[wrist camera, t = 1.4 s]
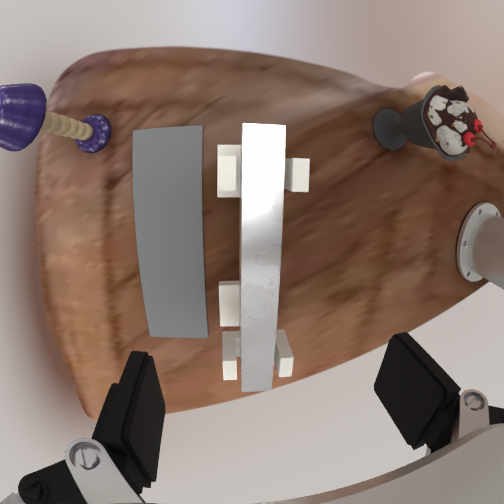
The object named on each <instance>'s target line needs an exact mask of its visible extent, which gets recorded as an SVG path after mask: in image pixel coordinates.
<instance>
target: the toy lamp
mask: <svg viewBox="0 0 504 504" xmlns="http://www.w3.org/2000/svg"><path fill="white" fill-rule="evenodd" d="M46 104H47V99H46V97H45V94H44V91H43V90H42V88H41V87H39V86H37V85H35V84H12V85H2V86H0V147H2V148H4V149H6V150H9V151H19V150H22V149H24V148H25V147H27V146H28V145H29V144H30V143H32V141H33V140H34V139H35V137H36V136H37V135H38V133H39V132H45V133H48V134H51V133H53V134H55V135H62V136H64V137H71V138H74V139H76V143H77V145H78V146H79V148H80V149H81V150H83V151H84V152H87V153H95V152H98V151H100V150H101V149H103V148H104V147H105V145H106V144H107V142H108V141H109V139H110V135H111V126H110V122H109V121H108V119H107V118H106V117H105V116H102V115H98V114H96V115H91V116H88V117H86V118H85V119H83V120H82V121H76V120H75V119H73V118H68V117H66V116H64V115H58V114H56V113H53V112H51V113H50V112H48V111H47V110H46V107H47V106H46Z"/></svg>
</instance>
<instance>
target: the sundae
mask: <svg viewBox="0 0 504 504" xmlns="http://www.w3.org/2000/svg"><path fill="white" fill-rule="evenodd" d="M468 100H469V97H468V96H467V94H466V92H465V90H464V88H463V87H462V86H459V87H456V88H454V89H452V90H450V89H449V88H448V87H447V86H445V85H444V86H440V85H439V86H435V87H433V88H432V89H431V90H430V91H429V92H428V93H427V94H426V96H425V98H424V100H422V101H420V102H417V103H415V104H413V105H411V106H410V107H408V108H407V109H406V110H405V111H404V112H403V113H402V116H401V115H400V114H398V113H397V112H396V111H394V110H392V109H383V110H380V111H379V112H378V113H377V114H376V115H375V118H374V121H373V130H374V134H375V136H376V139H377V140H378V142H379V143H380V144H381V145H382V146H383V147H385V148H387V149H389V150H398V149H400V148H401V147H402V146H403V145H404V144H405V142H406V140H407V139H408V140H409V141H410V142H411V143H413V144H415V145H419V146H422V147H427V148H433V149H437V151H438V152H439V153H440V154H441V155H442V156H443V157H444V158H445V159H447V160H450V161H456V160H459V159H461V158H463V157H465V155H466V154H467V153H469V151H470V146H474V144H475V140H477V139H480V140H483V141H485V142H487V141H486V140H485V139H483V138H479V137H475V134H476V133H478V134H479V133H481V132H483V133H484V135H485V136H486V137H487V138H488V139H489V140H490V141H491V142H492V144H493V145H491V144H490V143H488V142H487V143H488V144H489V145H490V146H491V148H492V150H493V151H495V147H496V143H495V142H493V141H492V140H491V139H490V138H489V137H488V136H487V135H486V134H485V132H484V131H483V125H482V123H481V121H480V120H478V119H477V115H476V112H475V111H474V110H473V109H472V108H471V107H470V106H469V105H468V104H467V103H466V102H467V101H468Z"/></svg>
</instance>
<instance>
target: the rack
mask: <svg viewBox="0 0 504 504" xmlns="http://www.w3.org/2000/svg"><path fill="white" fill-rule="evenodd" d="M240 151H241V145H218V163H217V197H240ZM309 162H310V159H303V158H288V159H285V165H284V189H287V190H290V191H292V192H308V189H309ZM219 306H220V326H239V281H219ZM222 339H223V375H224V380H237V369H236V356H240V333H239V331H224V332H222ZM274 360H275V364H276V368H277V372H278V376H279V377H288V376H291V375H292V367H293V360H294V356H293V354H292V351H291V348H290V345H289V342H288V339H287V337H286V334H285V331H284V329H280V330H276V341H275V354H274Z"/></svg>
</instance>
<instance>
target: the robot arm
mask: <svg viewBox="0 0 504 504" xmlns="http://www.w3.org/2000/svg"><path fill="white" fill-rule="evenodd" d="M457 265H458V269H459V272H460V273H461V275H462V276H463V277H464V278H465V279H467V280H469V281H472V282H475V281H479V280H481V279H482V278H485V279H487V280H489V281H490V282H492V283H494V284H496V285H497V286H499V287H501V288H502V289H504V218H502V217H501V216H500V213H499V211H498V209H497V208H496V207H495V206H494V205H493V204H490V203H487V202H481V203H479V204H477V205H475V206H474V207H473V208H472V209H471V211H470V212H469V213H468V215H467V217H466V218H465V220H464V222H463V225H462V227H461V230H460V234H459V238H458V243H457ZM460 390H461V388H460V387H459V386H458V385H457V384H456V383H455V382H454V381H453V379H451V377H450V376H449V375H448V374H447V373H446V372H445V371H444V370H443V369H442V368H441V367H440V366H439V365H438V364H437V362H436V361H435V360H434V359H433V358H432V357H431V356H430V355H429V354H428V353H427V352H426V351H425V350H424V349H423V348H422V347H421V346H420V345H419V344H418V343H417V342H416V341H415V340H414V339H413V338H412V337H411V336H410V335H409V334H408V333H407V332H403V333H399V334H395V335H393V336H392V338H391V339H390V340H389V343H388V346H387V349H386V352H385V355H384V359H383V361H382V364H381V367H380V370H379V373H378V375H377V378H376V381H375V383H374V391H375V393H376V394H377V396H378V397H379V399H380V400H381V402H382V404H383V405H384V407H385V409H386V410H387V412H388V413H389V415H390V416H391V418H392V420H393V421H394V423H395V425H396V426H397V428H398V429H399V431H400V433H401V434H402V436H403V438H404V439H405V441H406V443H407V444H408V445H411V446H412V448H413V449H414V450H415V449H417V448H419V447H421V446H423V445H424V444H425V443H426V444H427V450H426V455H425V457H423V458H421V459H419V460H417V461H415V462H413V463H410V464H408V465H406V466H404V467H401V468H399V469H396V470H394V471H391V472H389V473H386V474H383V475H381V476H378V477H375V478H373V479H369V480H367V481H363V482H360V483H357V484H354V485H351V486H347V487H344V488H340V489H336V490H333V491H328V492H324V493H320V494H315V495H311V496H306V497H300V498H295V499H289V500H282V501H275V502H267V503H257V504H504V409H503V408H498V407H493V406H488V402H487V399H486V397H485V396H484V395H483V394H482V393H481V392H479V391H477V390H473V389H469V390H465V391H464V392H463V393H462V394H461V396H460V395H459V394H458V393H459V391H460ZM164 417H165V402H164V399H163V395H162V391H161V388H160V384H159V380H158V376H157V372H156V368H155V364H154V359H153V357H152V356H148V353H147V352H142V351H132V352H131V353H130V356H129V358H128V361H127V363H126V366H125V368H124V371H123V374H122V376H121V379H120V381H119V384H117V383H113V384H112V385H111V387H110V389H109V392H108V394H107V397H106V400H105V402H104V405H103V408H102V410H101V413H100V416H99V419H98V421H97V424H96V427H95V430H94V433H93V436H92V439H90V438H82V439H77V440H75V441H73V442H71V443H70V444H69V446H68V447H67V449H66V451H65V460H62V461H60V462H58V463H55V464H53V465H51V466H48V467H46V468H43V469H41V470H38V471H36V472H33V473H30V474H28V475H26V476H24V477H23V478H22V479H21V481H20V483H19V485H18V491H19V492H18V493H17V494H14V493H12V494H11V495H9V496H8V497H7V498H6V499H4V500H3V501H2V502H1V503H0V504H155V503H146V502H145V501H144V500H143V498H142V497H141V496H140V495H139V494H141V493H142V489H143V487H146V488H150V487H151V482H155V481H156V477H157V468H158V460H159V452H160V444H161V437H162V430H163V423H164Z"/></svg>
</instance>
